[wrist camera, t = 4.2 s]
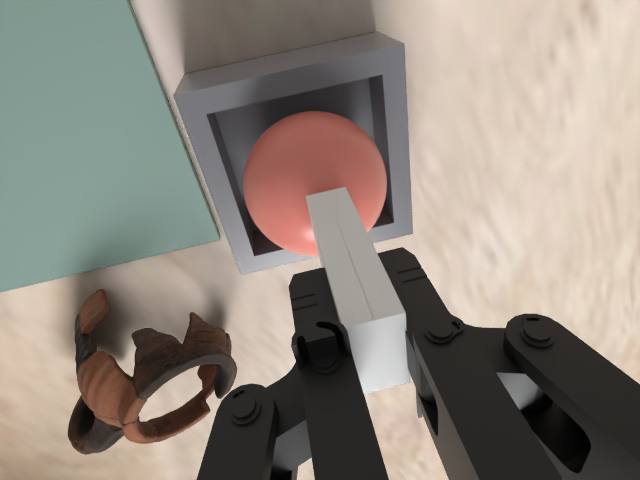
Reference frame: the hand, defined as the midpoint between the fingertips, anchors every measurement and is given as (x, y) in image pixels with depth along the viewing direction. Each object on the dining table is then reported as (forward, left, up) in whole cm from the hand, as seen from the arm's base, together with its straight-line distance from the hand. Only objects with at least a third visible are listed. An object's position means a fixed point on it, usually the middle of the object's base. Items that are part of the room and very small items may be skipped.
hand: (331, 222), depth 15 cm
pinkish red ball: (0, 0, -7) cm, 7 cm away
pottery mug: (-14, -12, -9) cm, 20 cm away
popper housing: (0, 0, -9) cm, 9 cm away
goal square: (-13, +3, -9) cm, 16 cm away
